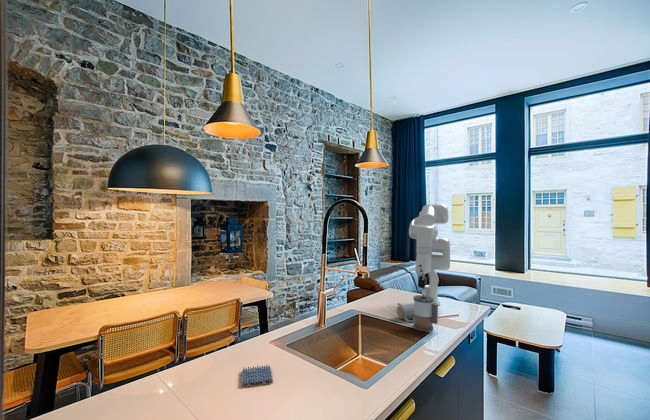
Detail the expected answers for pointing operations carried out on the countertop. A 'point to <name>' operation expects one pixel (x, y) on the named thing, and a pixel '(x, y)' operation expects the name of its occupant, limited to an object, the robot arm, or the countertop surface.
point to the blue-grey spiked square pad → (254, 372)
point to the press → (425, 313)
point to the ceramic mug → (406, 312)
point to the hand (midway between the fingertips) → (423, 286)
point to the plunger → (425, 287)
